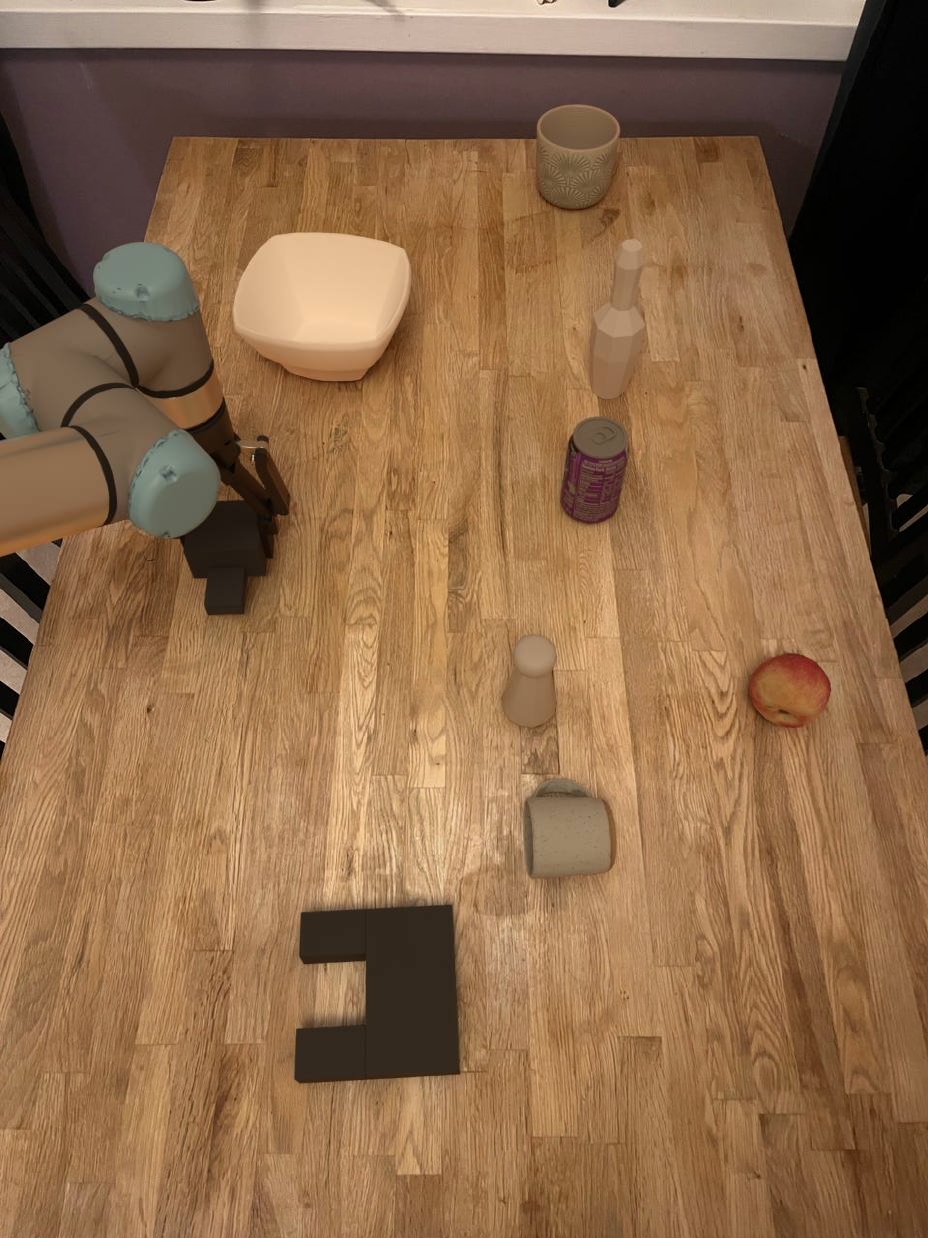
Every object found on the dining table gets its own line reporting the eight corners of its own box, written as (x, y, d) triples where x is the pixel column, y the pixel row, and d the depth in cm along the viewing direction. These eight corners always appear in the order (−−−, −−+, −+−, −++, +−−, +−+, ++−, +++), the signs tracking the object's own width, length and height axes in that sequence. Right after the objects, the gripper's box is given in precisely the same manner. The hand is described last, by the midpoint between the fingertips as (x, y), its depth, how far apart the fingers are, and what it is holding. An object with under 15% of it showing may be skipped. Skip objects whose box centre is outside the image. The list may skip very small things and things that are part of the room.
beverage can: (589, 473, 120) (601, 404, 110) (629, 507, 117) (645, 439, 107) (548, 501, 118) (555, 433, 108) (587, 536, 115) (599, 469, 105)
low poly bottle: (575, 379, 129) (593, 237, 111) (615, 364, 131) (640, 222, 112) (599, 409, 126) (623, 269, 108) (640, 394, 128) (670, 252, 109)
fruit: (727, 703, 103) (746, 667, 96) (774, 663, 106) (795, 625, 99) (783, 754, 100) (807, 720, 93) (830, 712, 102) (856, 675, 96)
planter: (573, 161, 156) (579, 94, 147) (627, 196, 151) (637, 129, 142) (516, 190, 152) (519, 123, 143) (570, 227, 147) (577, 160, 138)
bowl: (396, 423, 125) (390, 354, 115) (232, 403, 127) (213, 334, 117) (426, 310, 137) (423, 240, 127) (276, 294, 139) (262, 223, 129)
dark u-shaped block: (299, 1084, 83) (294, 1079, 81) (305, 921, 91) (300, 912, 88) (459, 1074, 83) (459, 1070, 81) (452, 913, 91) (452, 904, 88)
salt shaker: (545, 742, 100) (555, 683, 90) (493, 726, 101) (497, 666, 91) (560, 696, 103) (572, 633, 92) (510, 681, 104) (515, 617, 93)
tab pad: (199, 529, 110) (189, 501, 106) (269, 527, 111) (262, 499, 106) (189, 616, 104) (177, 590, 100) (263, 613, 104) (254, 587, 100)
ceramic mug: (612, 883, 92) (623, 856, 86) (528, 890, 92) (533, 863, 86) (595, 782, 98) (604, 749, 92) (516, 788, 98) (519, 755, 91)
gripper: (297, 372, 92) (324, 521, 111) (77, 378, 91) (143, 527, 110) (294, 429, 88) (323, 573, 107) (63, 436, 87) (134, 580, 106)
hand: (231, 550), depth 108 cm, fingers closed on tab pad, 8 cm apart
